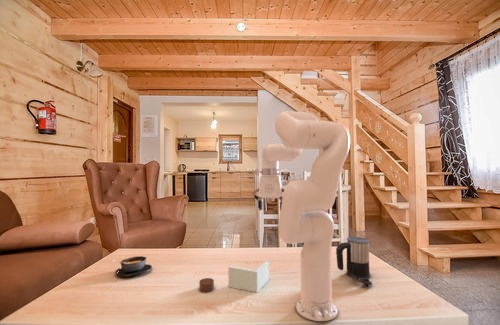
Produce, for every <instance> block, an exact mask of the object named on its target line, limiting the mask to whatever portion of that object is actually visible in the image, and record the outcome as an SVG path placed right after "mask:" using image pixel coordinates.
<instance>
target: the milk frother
mask: <svg viewBox="0 0 500 325" xmlns="http://www.w3.org/2000/svg"><path fill="white" fill-rule="evenodd" d="M346 241H347V242H341V243H339V244H337V246H336V249H335V254H336V266H337V269H338V270H340V271H343V270H344V255H343V254H344V250H345V249H346V275H348V276H349V277H351V278H352V279H354V280H356V281H358V282H359V283H361V284H362V285H365V286H366V287H368V286H372V285H373V281H372V280H370V277H371V274H370V242H371V240H370V239H368V238H365V237H361V236H349V237H346Z"/></svg>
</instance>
